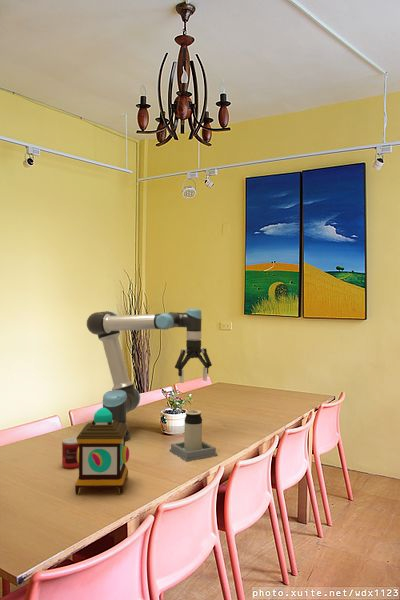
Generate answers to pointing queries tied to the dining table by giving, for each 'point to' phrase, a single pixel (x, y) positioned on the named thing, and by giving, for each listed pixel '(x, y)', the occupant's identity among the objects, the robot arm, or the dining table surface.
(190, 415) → the travel mug
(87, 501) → the dining table surface
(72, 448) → the canned food
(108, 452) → the decorative lantern
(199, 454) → the tray
